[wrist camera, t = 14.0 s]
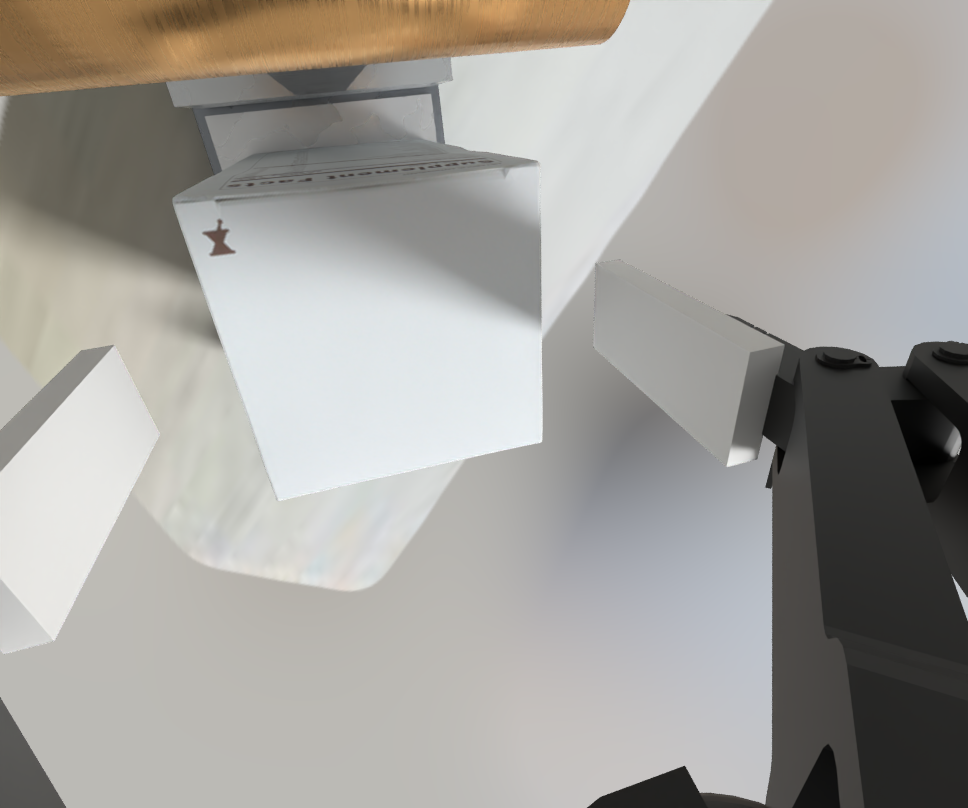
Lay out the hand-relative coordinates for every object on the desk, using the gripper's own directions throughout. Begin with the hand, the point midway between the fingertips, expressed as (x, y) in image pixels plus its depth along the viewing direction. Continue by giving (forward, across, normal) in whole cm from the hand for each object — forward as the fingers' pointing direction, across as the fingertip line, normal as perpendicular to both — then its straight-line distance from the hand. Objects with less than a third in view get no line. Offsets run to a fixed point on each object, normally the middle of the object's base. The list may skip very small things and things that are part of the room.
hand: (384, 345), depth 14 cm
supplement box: (+17, 0, 0) cm, 17 cm away
